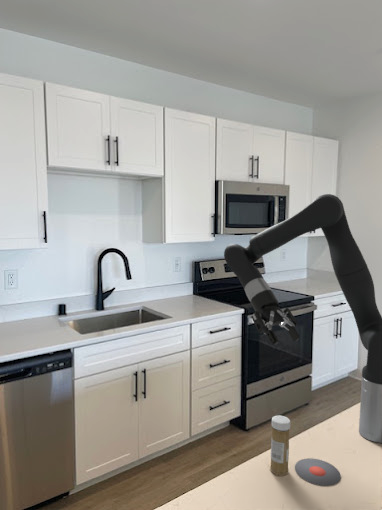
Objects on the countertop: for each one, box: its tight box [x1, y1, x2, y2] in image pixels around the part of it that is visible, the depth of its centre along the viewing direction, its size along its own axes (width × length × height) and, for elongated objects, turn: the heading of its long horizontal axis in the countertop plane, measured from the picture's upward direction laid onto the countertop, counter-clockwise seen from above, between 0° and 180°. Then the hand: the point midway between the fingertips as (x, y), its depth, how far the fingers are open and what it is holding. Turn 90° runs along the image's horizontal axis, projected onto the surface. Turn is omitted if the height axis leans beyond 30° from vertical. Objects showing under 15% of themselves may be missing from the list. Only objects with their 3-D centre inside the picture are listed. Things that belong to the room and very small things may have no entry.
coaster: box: [294, 457, 342, 487], centre depth 97 cm, size 11×11×1 cm
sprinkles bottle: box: [269, 415, 291, 477], centre depth 97 cm, size 5×5×14 cm
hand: (286, 341), depth 111 cm, fingers open, 8 cm apart
